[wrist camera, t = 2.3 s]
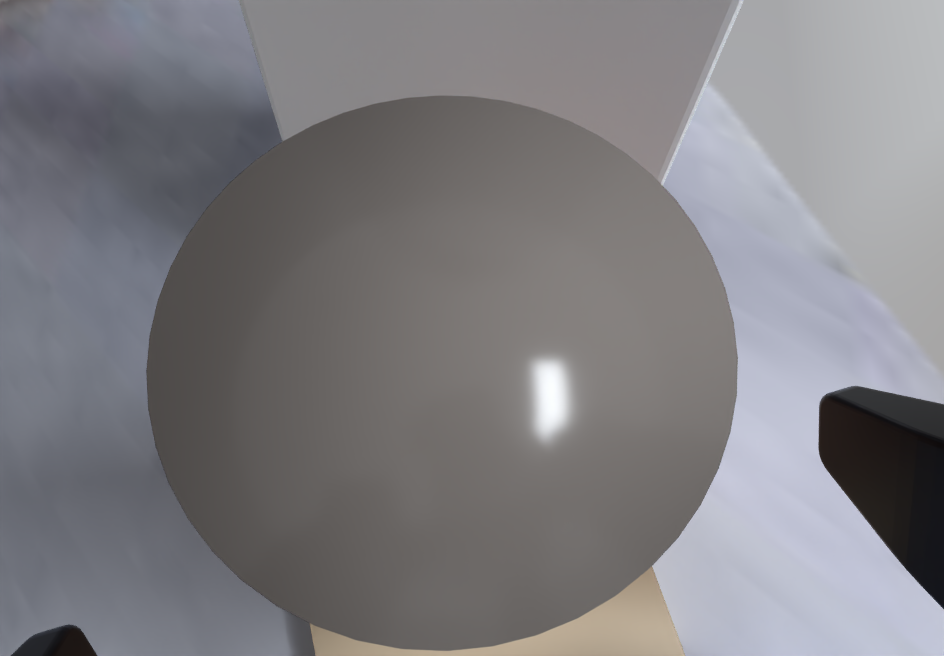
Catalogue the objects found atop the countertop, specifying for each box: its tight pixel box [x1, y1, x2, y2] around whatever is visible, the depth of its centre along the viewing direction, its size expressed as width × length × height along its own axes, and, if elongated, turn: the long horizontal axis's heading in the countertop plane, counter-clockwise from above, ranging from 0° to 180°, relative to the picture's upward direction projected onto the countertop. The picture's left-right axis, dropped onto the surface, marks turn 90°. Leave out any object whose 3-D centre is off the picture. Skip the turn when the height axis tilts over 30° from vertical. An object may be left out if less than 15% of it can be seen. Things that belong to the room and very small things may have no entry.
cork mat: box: [310, 566, 685, 656], centre depth 17 cm, size 8×8×1 cm
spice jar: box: [147, 95, 738, 651], centre depth 11 cm, size 5×5×12 cm
